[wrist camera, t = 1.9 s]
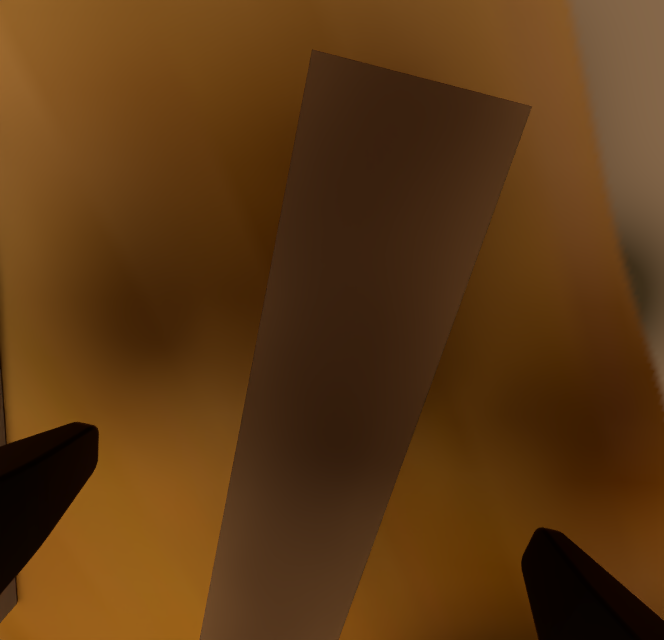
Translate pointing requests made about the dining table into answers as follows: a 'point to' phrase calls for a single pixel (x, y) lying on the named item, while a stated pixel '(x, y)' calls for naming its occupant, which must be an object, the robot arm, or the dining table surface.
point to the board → (8, 599)
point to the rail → (350, 334)
